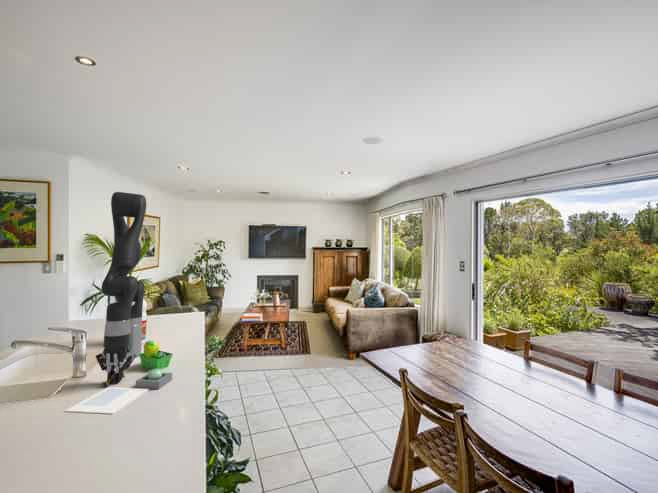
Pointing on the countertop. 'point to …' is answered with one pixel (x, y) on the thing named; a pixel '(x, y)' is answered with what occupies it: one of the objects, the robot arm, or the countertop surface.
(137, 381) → the button housing
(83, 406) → the paper sheet
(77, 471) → the countertop surface
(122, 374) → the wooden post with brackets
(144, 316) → the fruit juice
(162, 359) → the fruit basket
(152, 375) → the button
